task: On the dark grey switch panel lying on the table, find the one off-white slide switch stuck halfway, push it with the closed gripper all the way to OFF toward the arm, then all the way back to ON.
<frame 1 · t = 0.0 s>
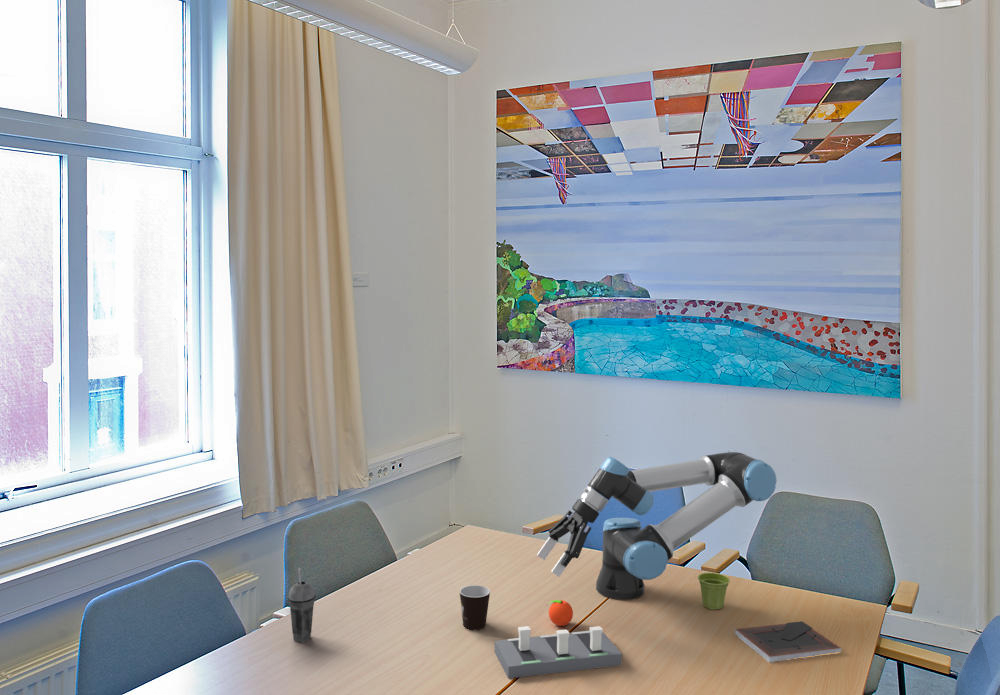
hand: (547, 565, 225), 15 cm above the table, tool tilted 35°, fingers open, 13 cm apart
brown book: (786, 647, 212), on the table
switch 2: (595, 638, 199), point 6 cm above the table, slide at 4.0 cm
clementine: (558, 625, 222), on the table
switch panel: (557, 658, 201), on the table
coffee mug: (475, 623, 222), on the table
switch middle: (562, 642, 197), point 6 cm above the table, slide at 4.0 cm
beverage cup: (302, 638, 210), on the table
plant pot: (712, 606, 236), on the table
switch 1: (524, 638, 199), point 6 cm above the table, slide at 0.0 cm
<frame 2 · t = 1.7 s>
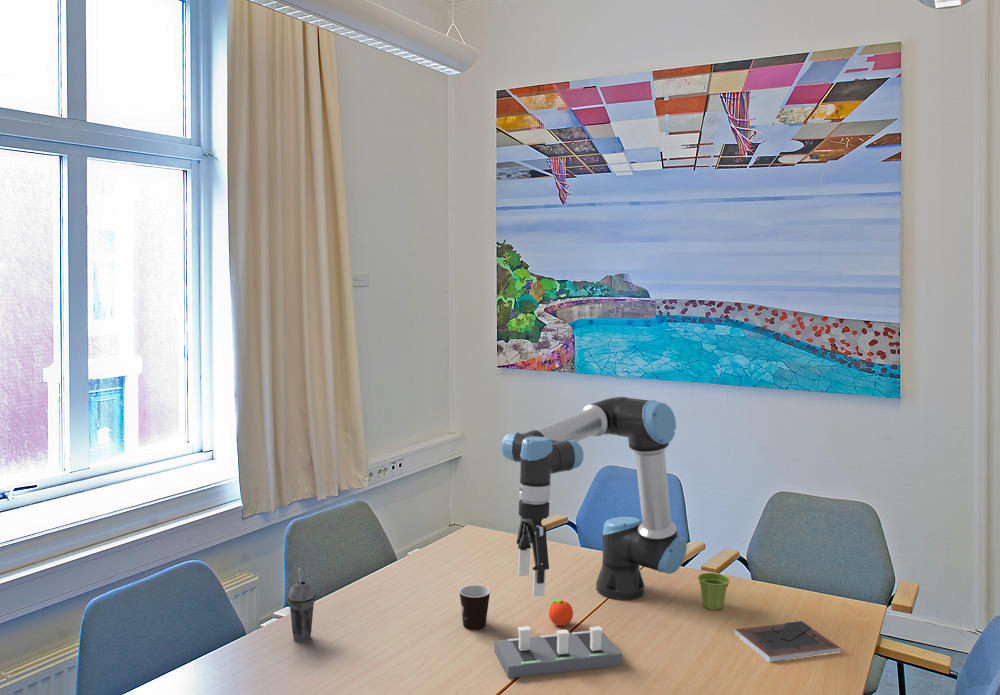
hand: (530, 585, 192), 22 cm above the table, tool pointing down, fingers open, 13 cm apart
nothing on the table moved.
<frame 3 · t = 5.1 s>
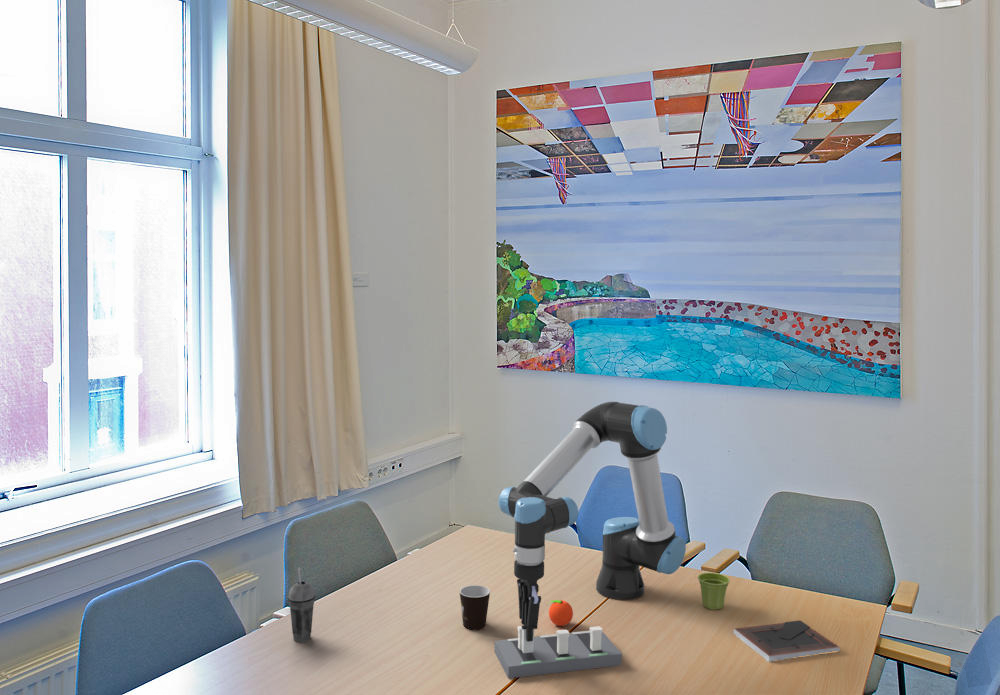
hand: (527, 651, 196), 4 cm above the table, tool pointing down, fingers closed
switch 1: (523, 637, 199), point 6 cm above the table, slide at -0.6 cm, touching gripper
everything else where it was.
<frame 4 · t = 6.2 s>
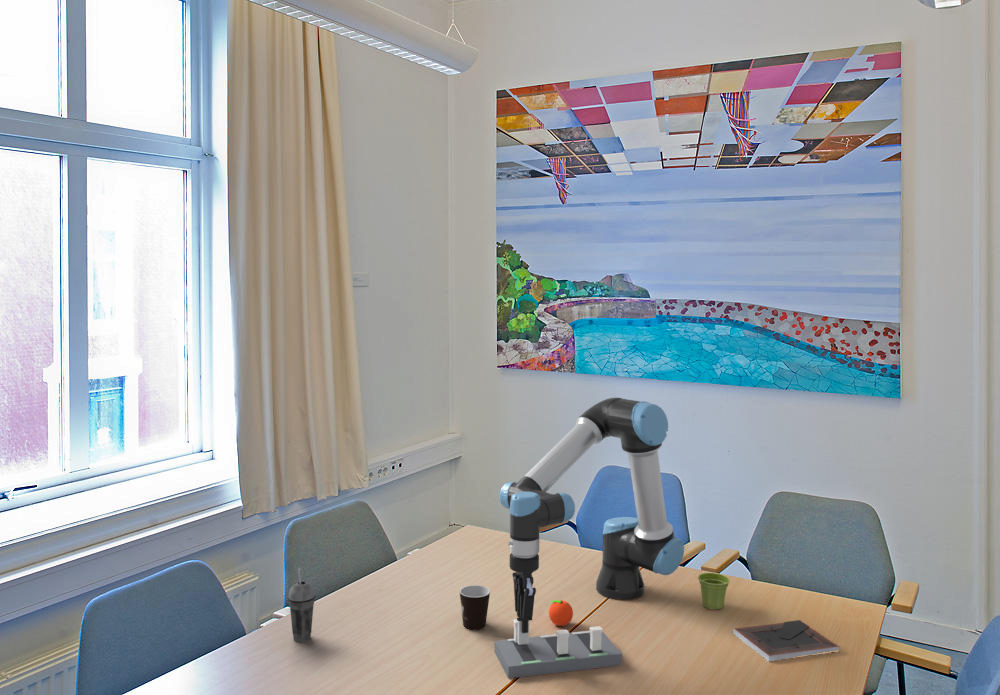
hand: (523, 643, 200), 4 cm above the table, tool pointing down, fingers closed
switch 1: (519, 630, 203), point 6 cm above the table, slide at -4.6 cm, touching gripper
everything else where it was.
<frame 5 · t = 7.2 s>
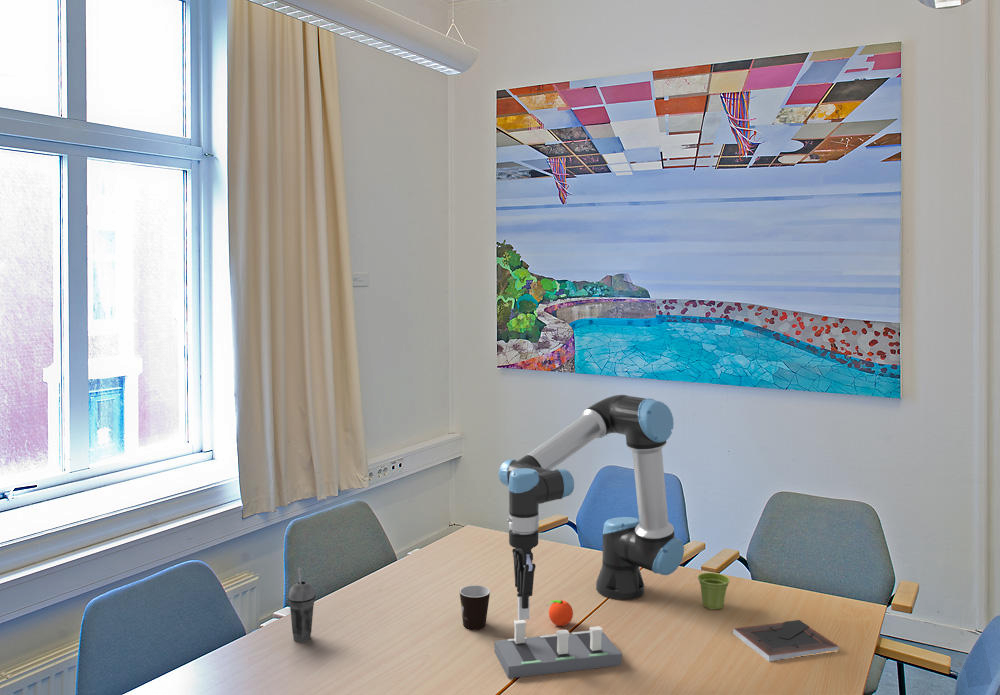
hand: (523, 618, 201), 10 cm above the table, tool pointing down, fingers closed
switch 1: (519, 631, 203), point 6 cm above the table, slide at -4.1 cm
everything else where it was.
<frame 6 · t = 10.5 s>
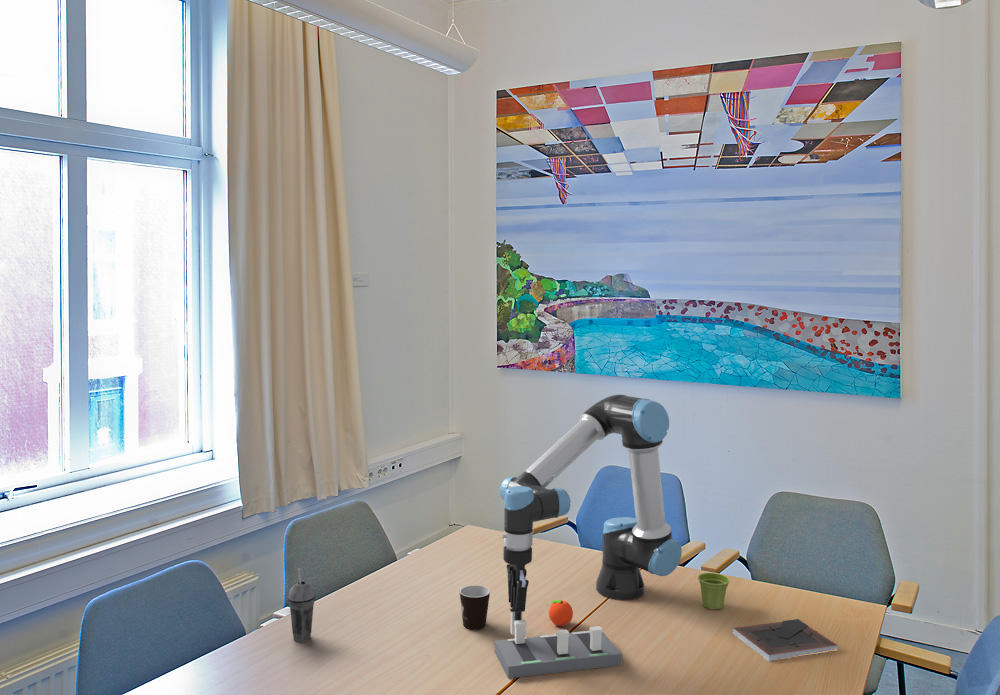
hand: (516, 633, 206), 5 cm above the table, tool pointing down, fingers closed
switch 1: (520, 632, 202), point 6 cm above the table, slide at -3.9 cm, touching gripper
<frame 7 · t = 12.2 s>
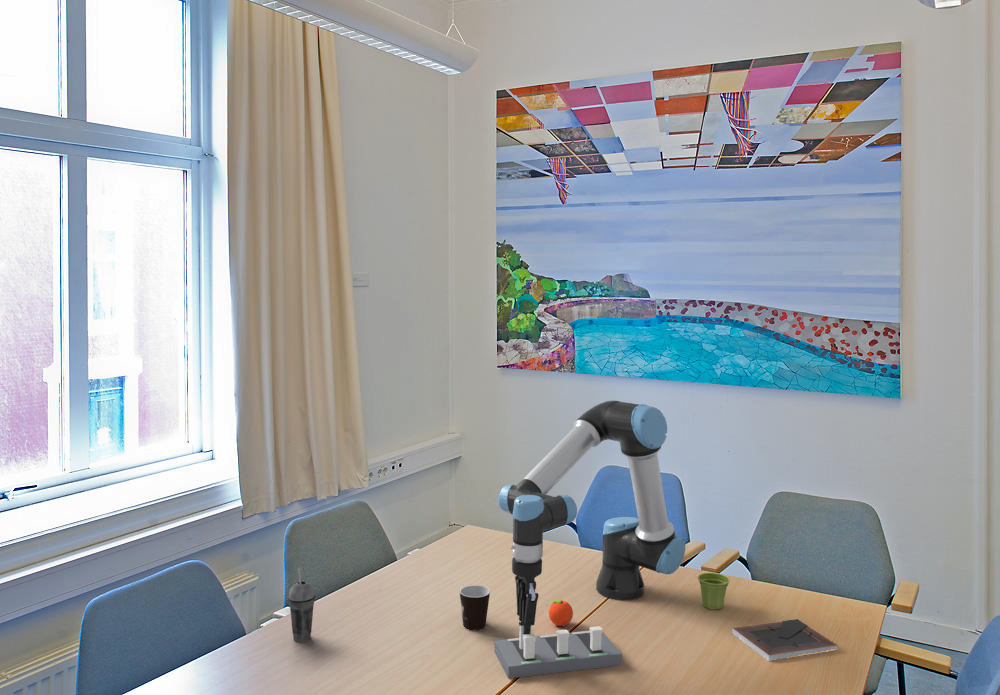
hand: (524, 647, 198), 5 cm above the table, tool pointing down, fingers closed
switch 1: (529, 646, 194), point 6 cm above the table, slide at 4.4 cm, touching gripper
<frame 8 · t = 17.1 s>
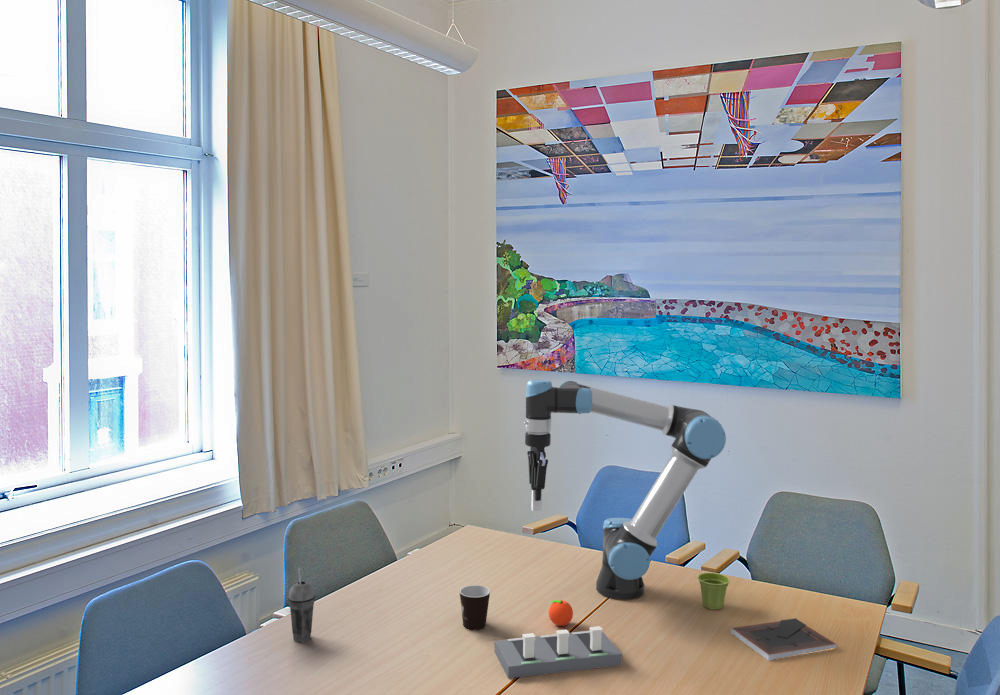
hand: (536, 510, 232), 29 cm above the table, tool pointing down, fingers closed
switch 1: (528, 645, 195), point 6 cm above the table, slide at 4.1 cm
at the end: switch 1 slide at 4.1 cm; switch middle slide at 4.0 cm; switch 2 slide at 4.0 cm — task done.
